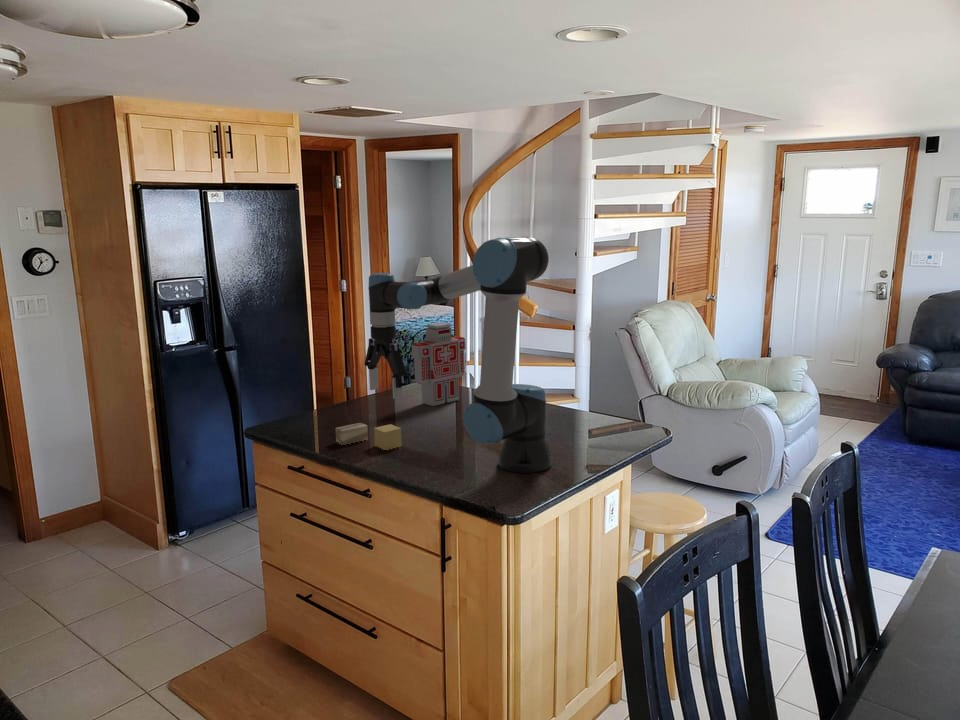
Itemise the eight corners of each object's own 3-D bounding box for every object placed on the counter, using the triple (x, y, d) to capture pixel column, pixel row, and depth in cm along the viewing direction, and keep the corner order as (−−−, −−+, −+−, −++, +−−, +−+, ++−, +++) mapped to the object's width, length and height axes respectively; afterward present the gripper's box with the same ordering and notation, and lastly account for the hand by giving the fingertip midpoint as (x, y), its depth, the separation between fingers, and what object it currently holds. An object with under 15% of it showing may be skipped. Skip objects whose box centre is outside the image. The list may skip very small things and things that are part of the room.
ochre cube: (401, 446, 224) (401, 428, 223) (385, 451, 220) (384, 432, 219) (391, 442, 229) (390, 424, 227) (375, 446, 225) (374, 427, 224)
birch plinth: (368, 440, 231) (367, 425, 230) (343, 446, 226) (342, 431, 225) (361, 437, 234) (360, 422, 233) (336, 443, 229) (335, 427, 228)
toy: (423, 409, 265) (420, 329, 259) (411, 405, 271) (408, 326, 265) (469, 398, 280) (468, 322, 274) (457, 395, 285) (455, 320, 279)
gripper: (416, 328, 209) (418, 399, 214) (372, 319, 229) (375, 384, 233) (394, 331, 205) (397, 403, 209) (351, 321, 224) (354, 387, 228)
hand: (385, 393), depth 221 cm, fingers open, 13 cm apart
